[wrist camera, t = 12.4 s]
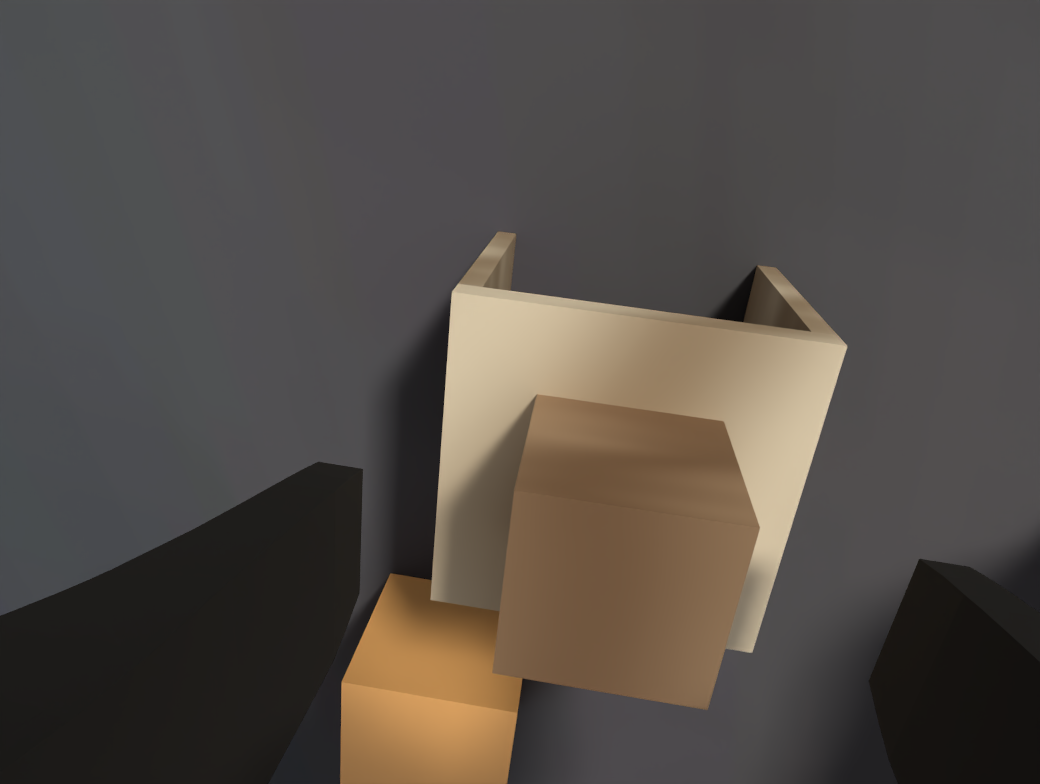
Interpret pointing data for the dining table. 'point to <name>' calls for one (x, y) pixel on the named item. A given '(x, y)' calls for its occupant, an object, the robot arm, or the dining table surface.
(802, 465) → the cover
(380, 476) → the dining table surface
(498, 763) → the orange cube
